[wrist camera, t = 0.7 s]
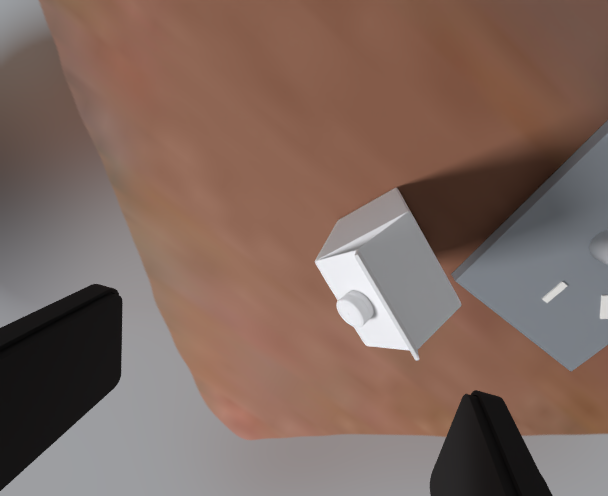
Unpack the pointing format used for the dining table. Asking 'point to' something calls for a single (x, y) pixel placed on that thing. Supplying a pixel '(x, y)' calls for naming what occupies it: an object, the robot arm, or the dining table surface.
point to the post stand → (553, 260)
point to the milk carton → (387, 276)
